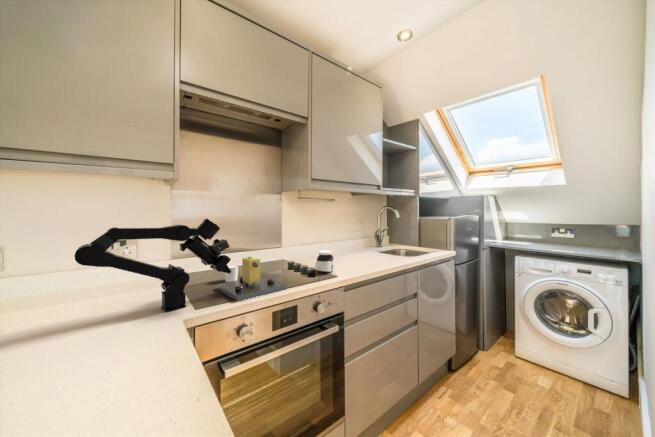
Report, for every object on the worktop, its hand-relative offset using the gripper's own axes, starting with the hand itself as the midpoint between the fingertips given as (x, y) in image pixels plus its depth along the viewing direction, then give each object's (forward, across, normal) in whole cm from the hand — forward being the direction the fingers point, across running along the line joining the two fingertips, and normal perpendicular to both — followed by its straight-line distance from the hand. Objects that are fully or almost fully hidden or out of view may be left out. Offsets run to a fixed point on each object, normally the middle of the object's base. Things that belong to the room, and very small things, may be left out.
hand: (230, 272), depth 105 cm
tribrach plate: (+13, 0, 0) cm, 13 cm away
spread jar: (+44, +1, -31) cm, 53 cm away
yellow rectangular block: (+10, 0, -3) cm, 11 cm away
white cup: (+12, +20, +1) cm, 23 cm away
